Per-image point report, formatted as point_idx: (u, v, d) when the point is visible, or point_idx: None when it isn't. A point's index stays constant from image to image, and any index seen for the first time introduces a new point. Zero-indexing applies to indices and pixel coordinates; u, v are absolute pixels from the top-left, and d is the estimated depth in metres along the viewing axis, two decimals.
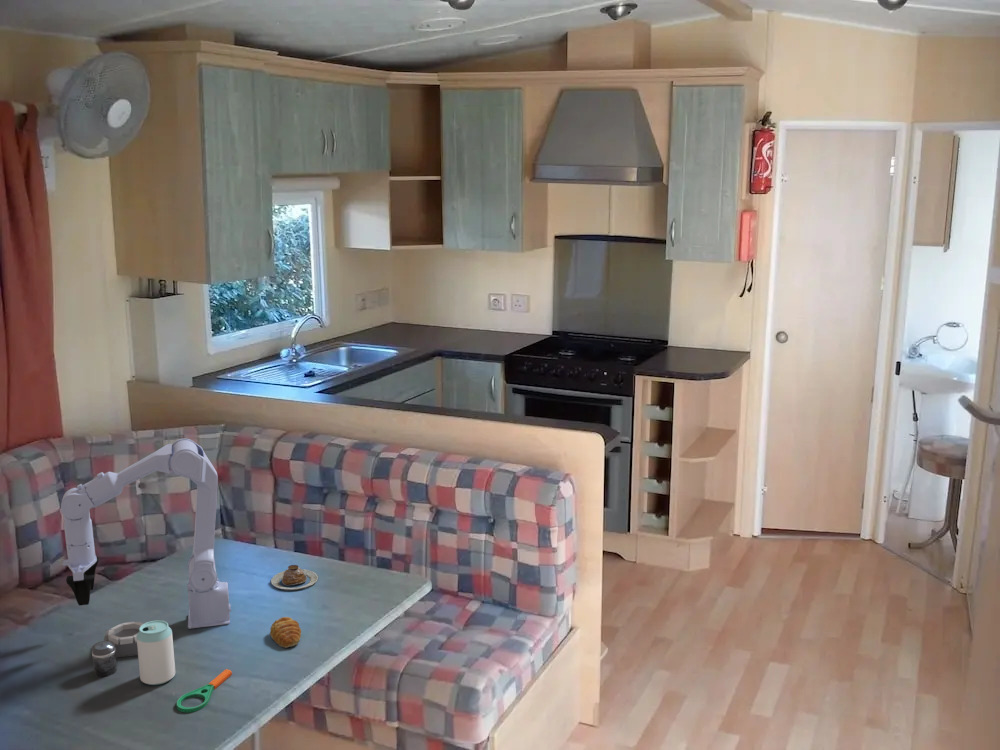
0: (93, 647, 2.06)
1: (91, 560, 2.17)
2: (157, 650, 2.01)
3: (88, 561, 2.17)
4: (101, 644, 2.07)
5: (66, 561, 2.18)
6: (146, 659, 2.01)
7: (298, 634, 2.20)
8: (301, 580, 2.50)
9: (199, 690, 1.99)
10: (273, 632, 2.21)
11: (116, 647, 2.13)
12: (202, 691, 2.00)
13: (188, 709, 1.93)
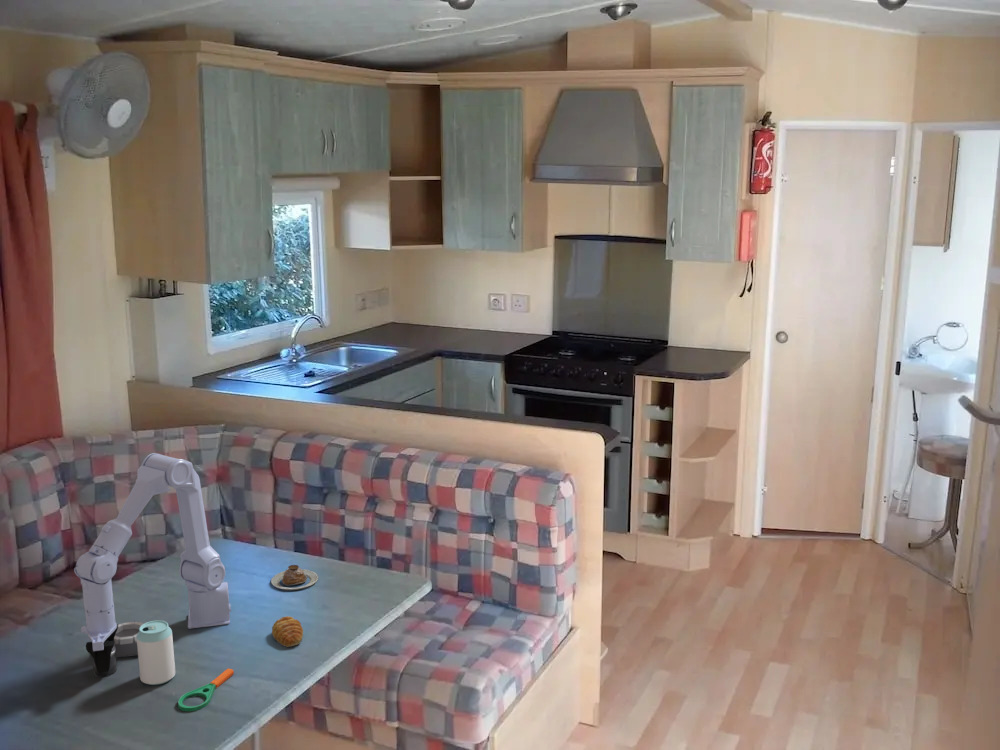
0: None
1: (111, 627, 2.05)
2: (157, 650, 2.01)
3: (108, 628, 2.04)
4: None
5: (84, 628, 2.05)
6: (146, 659, 2.01)
7: (300, 633, 2.20)
8: (301, 580, 2.50)
9: (201, 689, 2.00)
10: (275, 631, 2.21)
11: (116, 647, 2.13)
12: (204, 690, 2.00)
13: (189, 708, 1.93)
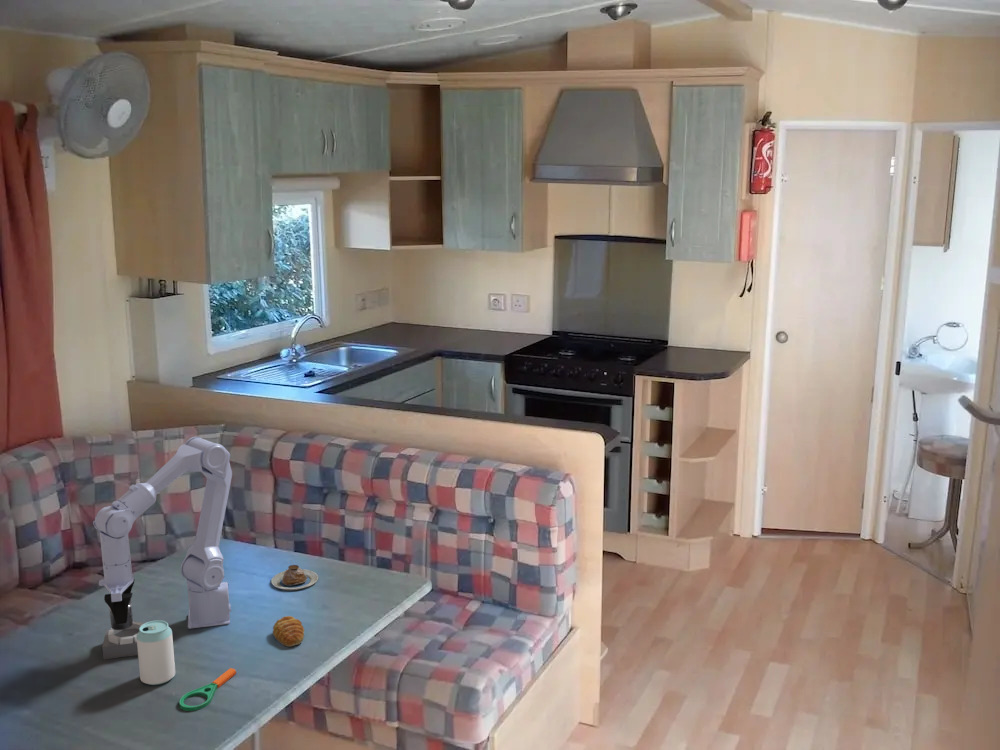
0: None
1: (128, 580, 2.11)
2: (157, 650, 2.01)
3: (125, 581, 2.11)
4: None
5: (102, 581, 2.11)
6: (146, 659, 2.01)
7: (301, 633, 2.21)
8: (301, 580, 2.50)
9: (202, 689, 2.00)
10: (276, 631, 2.21)
11: (116, 647, 2.13)
12: (205, 690, 2.00)
13: (190, 708, 1.93)
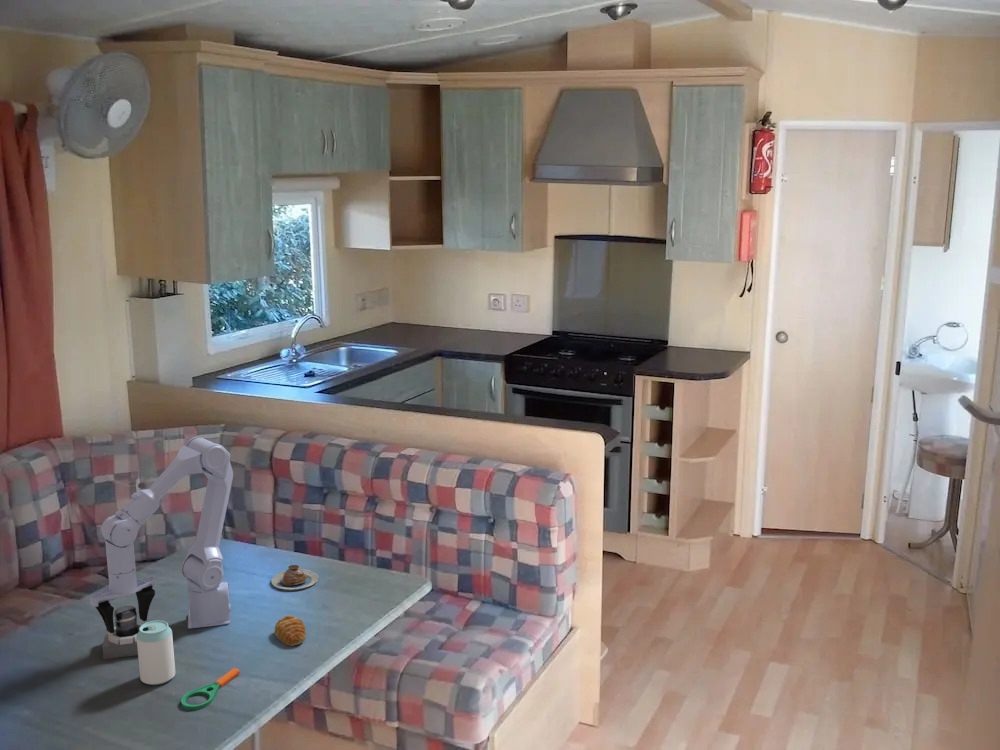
0: (120, 608, 2.17)
1: (120, 592, 2.12)
2: (157, 650, 2.01)
3: (116, 591, 2.12)
4: (126, 608, 2.17)
5: None
6: (146, 659, 2.01)
7: (303, 632, 2.21)
8: (301, 580, 2.50)
9: (205, 688, 2.00)
10: (278, 631, 2.22)
11: (116, 647, 2.13)
12: (208, 689, 2.01)
13: (191, 707, 1.94)
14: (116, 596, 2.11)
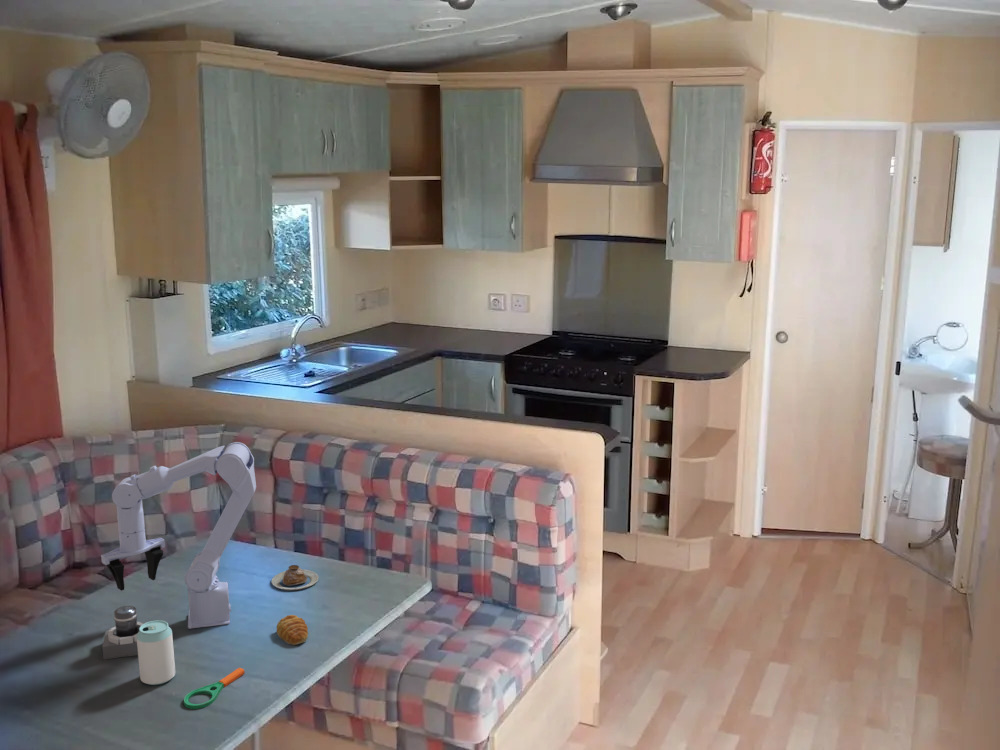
0: (120, 608, 2.17)
1: (130, 551, 2.23)
2: (157, 650, 2.01)
3: (127, 550, 2.23)
4: (126, 608, 2.17)
5: None
6: (146, 659, 2.01)
7: (306, 631, 2.21)
8: (301, 580, 2.50)
9: (208, 687, 2.01)
10: (280, 630, 2.22)
11: (116, 647, 2.13)
12: (212, 688, 2.01)
13: (193, 706, 1.94)
14: (126, 555, 2.22)
